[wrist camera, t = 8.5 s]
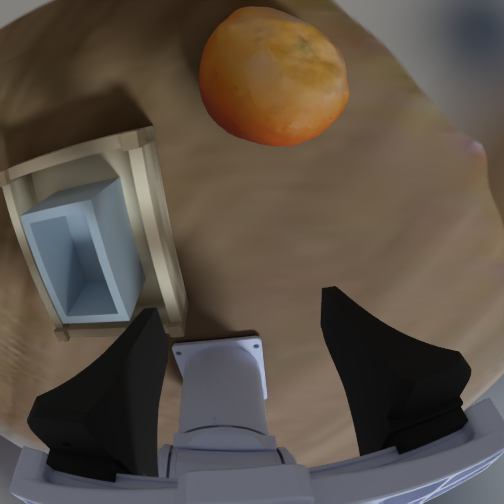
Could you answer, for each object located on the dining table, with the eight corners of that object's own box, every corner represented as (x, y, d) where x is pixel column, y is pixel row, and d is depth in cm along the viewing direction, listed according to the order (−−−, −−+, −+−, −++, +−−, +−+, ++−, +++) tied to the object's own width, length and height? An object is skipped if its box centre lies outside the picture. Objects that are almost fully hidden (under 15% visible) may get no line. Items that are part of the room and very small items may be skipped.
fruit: (151, 103, 16) (183, 26, 9) (230, 39, 18) (288, -28, 11) (244, 189, 19) (326, 165, 12) (307, 114, 21) (387, 76, 14)
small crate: (145, 279, 23) (129, 320, 18) (86, 285, 22) (62, 323, 18) (120, 176, 19) (91, 199, 14) (56, 191, 19) (20, 215, 14)
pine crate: (188, 303, 25) (184, 336, 21) (75, 312, 24) (59, 341, 21) (153, 125, 18) (136, 130, 15) (24, 161, 18) (-6, 174, 14)
